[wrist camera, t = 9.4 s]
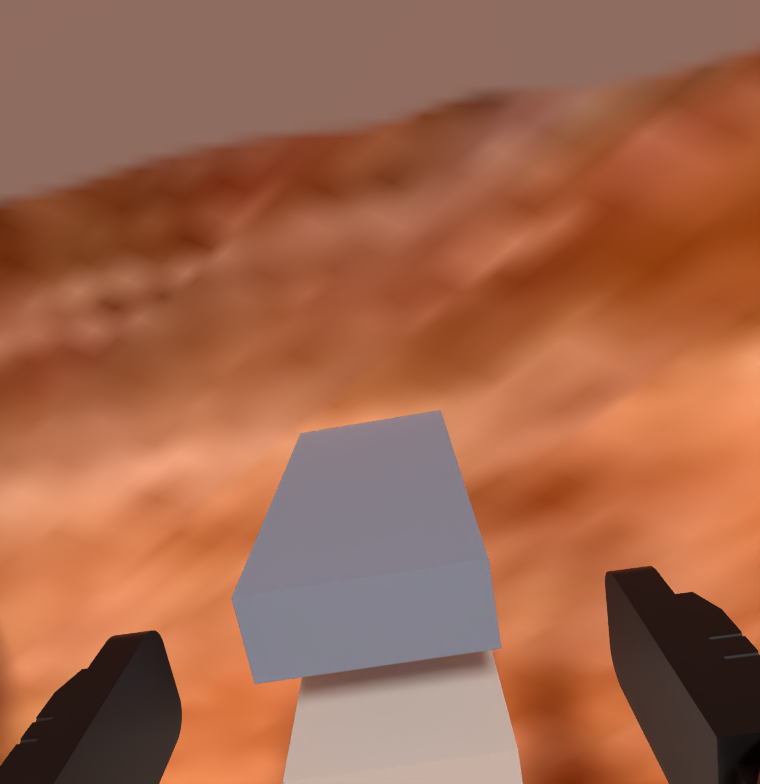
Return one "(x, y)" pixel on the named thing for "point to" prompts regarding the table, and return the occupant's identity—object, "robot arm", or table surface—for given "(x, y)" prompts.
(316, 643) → the tile
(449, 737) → the tile
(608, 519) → the table surface
